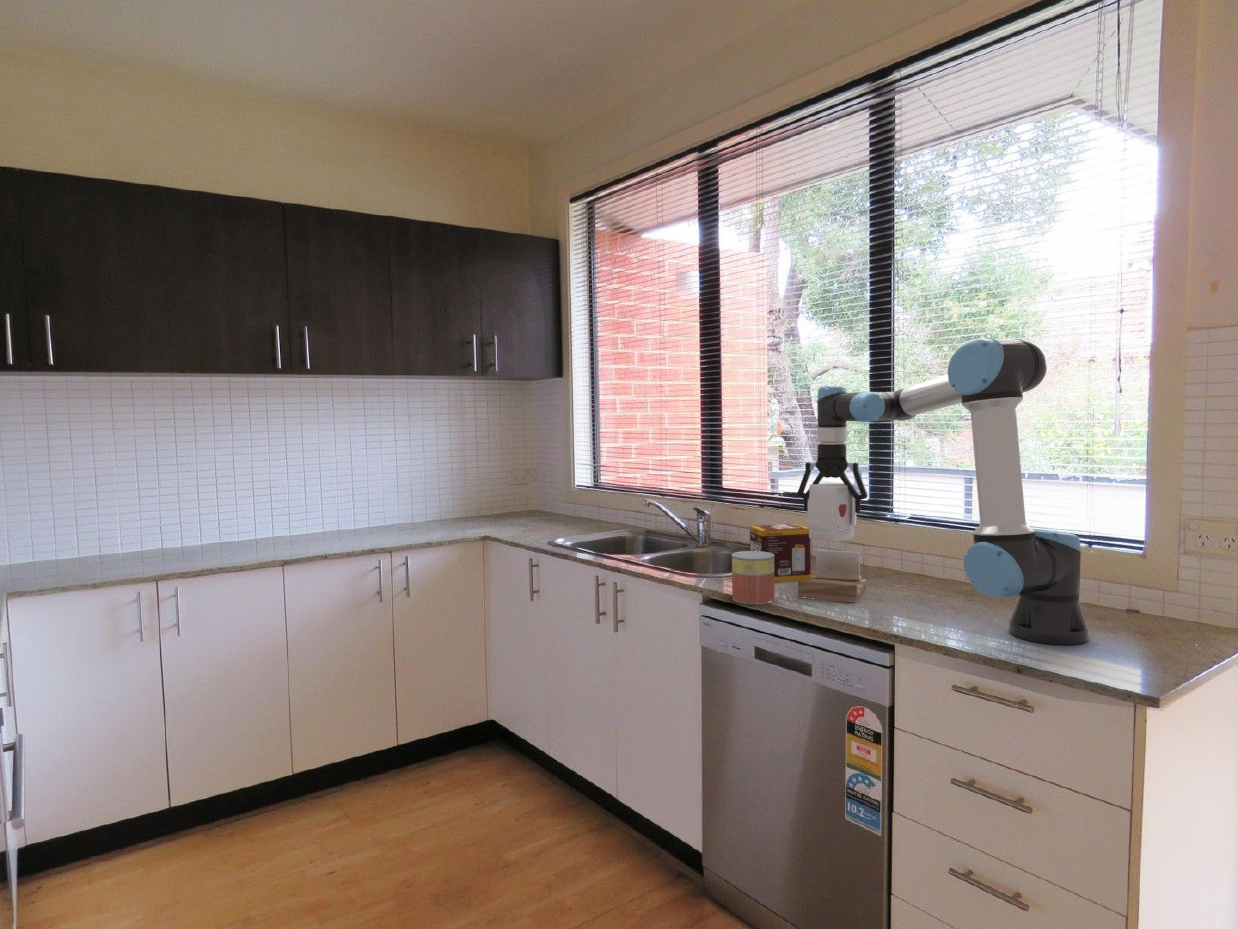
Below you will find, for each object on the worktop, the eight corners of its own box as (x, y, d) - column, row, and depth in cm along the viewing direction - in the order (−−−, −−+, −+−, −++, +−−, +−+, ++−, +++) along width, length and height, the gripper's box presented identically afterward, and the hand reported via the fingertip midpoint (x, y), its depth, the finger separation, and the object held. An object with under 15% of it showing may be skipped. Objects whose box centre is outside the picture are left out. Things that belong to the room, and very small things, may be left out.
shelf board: (856, 602, 197) (856, 585, 197) (798, 597, 203) (798, 581, 203) (866, 584, 217) (866, 569, 217) (813, 580, 223) (812, 565, 223)
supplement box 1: (749, 575, 232) (748, 525, 231) (796, 572, 235) (796, 522, 233) (761, 583, 222) (761, 530, 221) (811, 580, 224) (811, 527, 223)
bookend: (859, 580, 214) (859, 552, 214) (816, 577, 219) (816, 550, 219) (861, 578, 218) (861, 550, 217) (818, 575, 223) (818, 548, 222)
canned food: (753, 592, 211) (753, 549, 210) (783, 599, 202) (783, 555, 201) (723, 598, 204) (722, 554, 204) (752, 606, 195) (752, 560, 194)
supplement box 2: (836, 542, 200) (836, 486, 199) (808, 538, 207) (808, 484, 206) (855, 538, 206) (855, 483, 205) (827, 534, 213) (827, 481, 212)
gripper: (878, 442, 203) (878, 523, 205) (791, 442, 213) (791, 520, 215) (875, 443, 197) (875, 527, 198) (785, 443, 206) (785, 523, 208)
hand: (831, 523), depth 206 cm, fingers closed on supplement box 2, 11 cm apart
